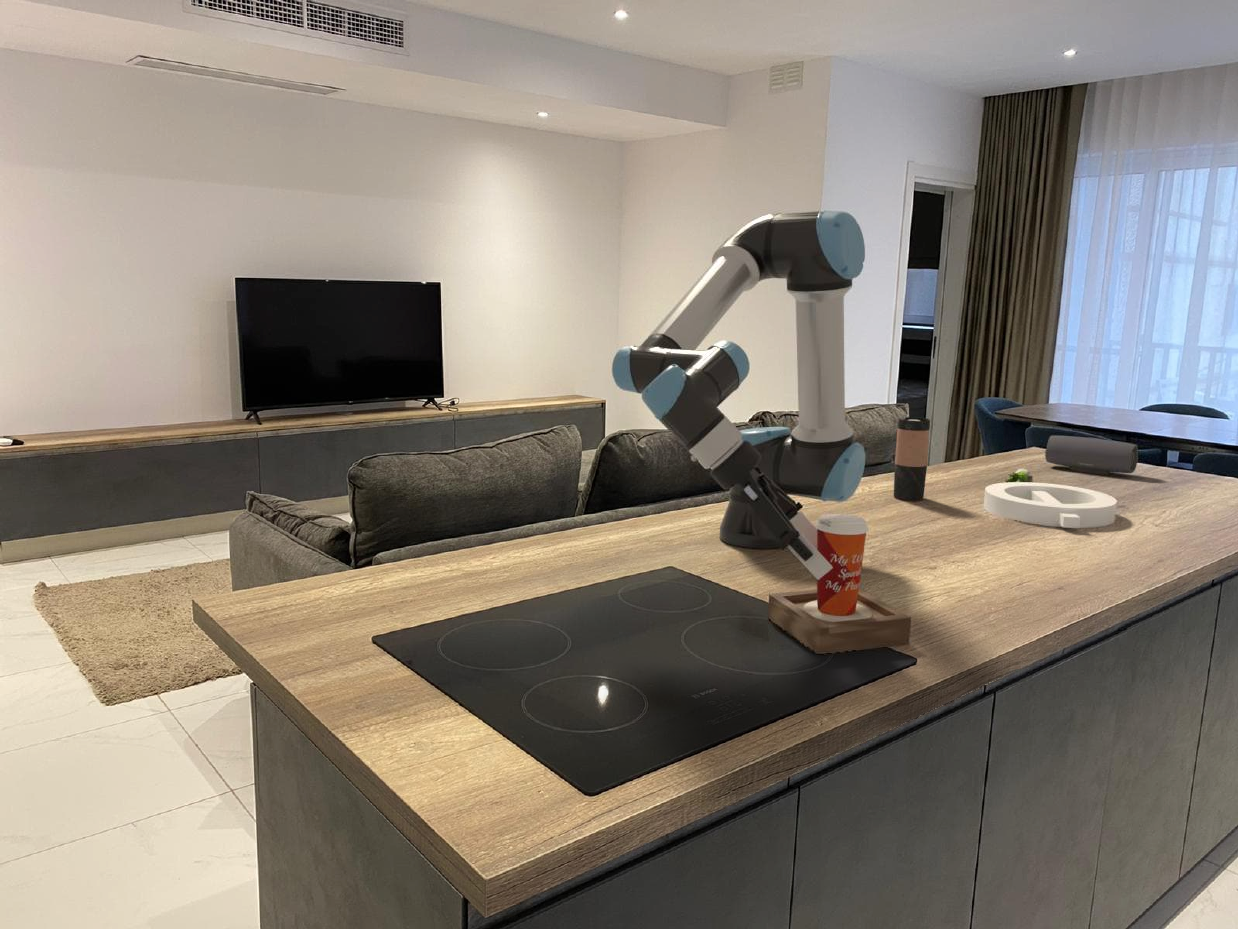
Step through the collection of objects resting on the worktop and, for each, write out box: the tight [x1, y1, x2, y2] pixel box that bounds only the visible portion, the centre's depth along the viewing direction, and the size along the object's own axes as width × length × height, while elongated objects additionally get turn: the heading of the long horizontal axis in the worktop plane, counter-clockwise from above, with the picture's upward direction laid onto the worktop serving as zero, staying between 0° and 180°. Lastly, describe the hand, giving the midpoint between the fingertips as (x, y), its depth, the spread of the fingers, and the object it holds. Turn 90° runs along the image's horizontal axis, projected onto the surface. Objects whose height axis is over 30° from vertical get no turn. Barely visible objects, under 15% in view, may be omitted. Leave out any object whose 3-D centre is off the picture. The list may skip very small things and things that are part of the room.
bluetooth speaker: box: [1044, 435, 1139, 475], centre depth 263 cm, size 23×9×10 cm, turn 46°
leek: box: [1004, 468, 1030, 483], centre depth 244 cm, size 6×7×30 cm
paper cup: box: [814, 513, 870, 616], centre depth 133 cm, size 8×8×14 cm
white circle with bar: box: [983, 481, 1118, 529], centre depth 212 cm, size 28×28×5 cm
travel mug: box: [893, 416, 931, 502], centre depth 224 cm, size 8×8×20 cm
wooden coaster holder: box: [767, 588, 912, 655], centre depth 135 cm, size 15×15×4 cm
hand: (824, 560), depth 133 cm, fingers open, 13 cm apart
